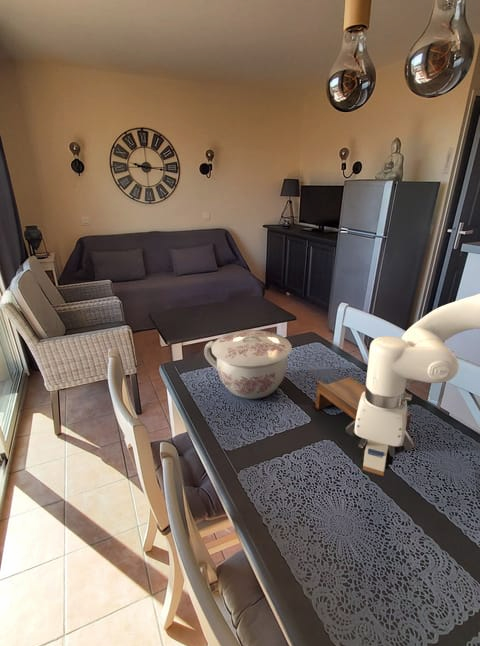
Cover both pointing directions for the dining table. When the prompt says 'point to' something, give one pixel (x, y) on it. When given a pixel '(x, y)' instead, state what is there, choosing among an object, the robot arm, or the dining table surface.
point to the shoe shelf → (343, 396)
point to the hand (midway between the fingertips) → (375, 461)
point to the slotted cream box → (375, 457)
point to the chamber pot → (250, 361)
